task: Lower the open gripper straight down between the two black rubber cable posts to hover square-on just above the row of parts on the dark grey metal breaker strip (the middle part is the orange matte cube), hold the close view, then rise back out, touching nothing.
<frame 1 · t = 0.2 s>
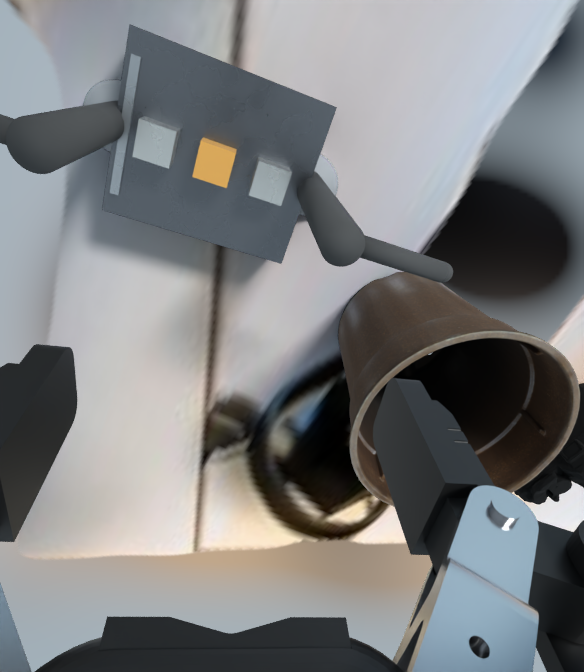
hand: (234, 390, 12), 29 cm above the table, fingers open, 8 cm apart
cable post 1: (121, 118, 34), on the table
orange matte cube: (214, 162, 31), point 5 cm above the table, hinge at 0.0°
plant pot: (396, 323, 45), on the table
film camera: (553, 430, 55), on the table
cable post 2: (306, 183, 37), on the table
breaker strip: (218, 152, 36), on the table
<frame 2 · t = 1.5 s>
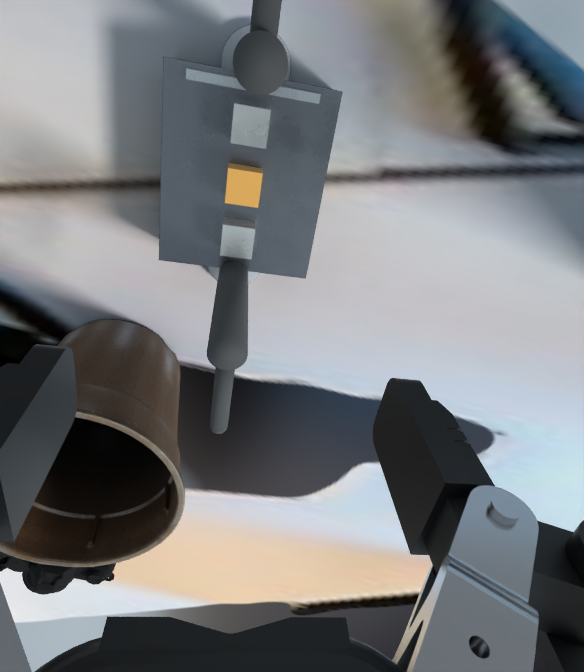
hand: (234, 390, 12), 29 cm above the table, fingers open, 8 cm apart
cable post 1: (256, 66, 33), on the table
orange matte cube: (243, 185, 32), point 5 cm above the table, hinge at 0.0°
plant pot: (122, 368, 46), on the table
film camera: (64, 523, 57), on the table
cable post 2: (234, 257, 40), on the table
breaker strip: (244, 171, 37), on the table
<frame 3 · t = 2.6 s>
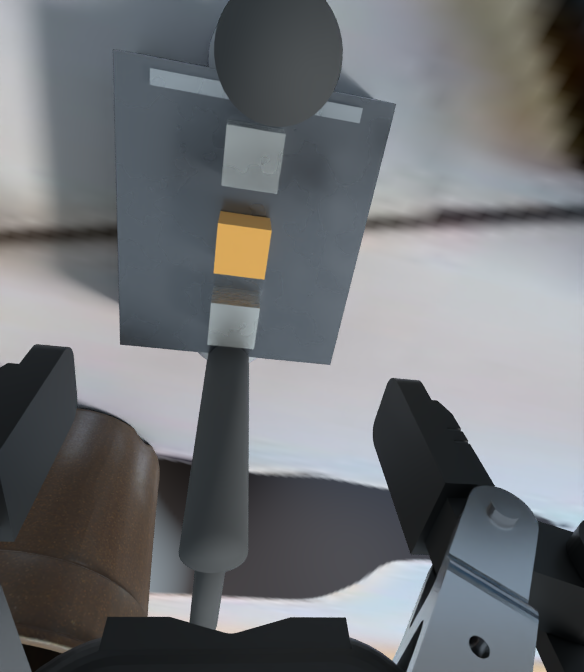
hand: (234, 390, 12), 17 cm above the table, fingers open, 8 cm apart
cable post 1: (260, 65, 22), on the table
orange matte cube: (242, 245, 21), point 5 cm above the table, hinge at 0.0°
plant pot: (83, 463, 35), on the table
cable post 2: (230, 328, 29), on the table
breaker strip: (243, 215, 26), on the table
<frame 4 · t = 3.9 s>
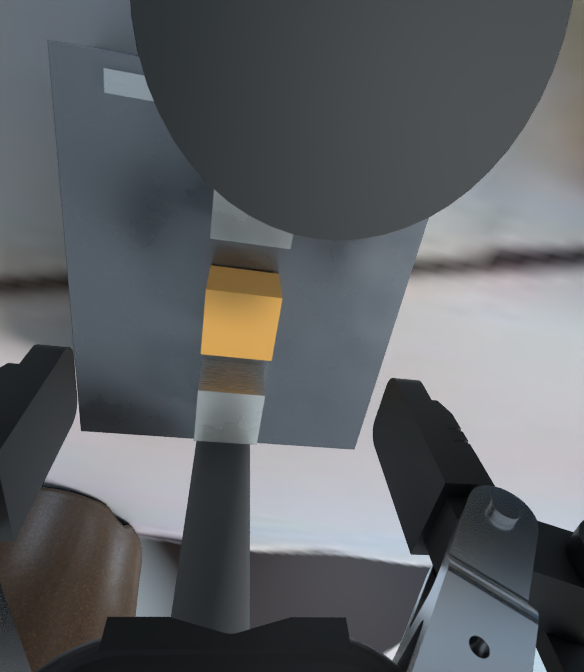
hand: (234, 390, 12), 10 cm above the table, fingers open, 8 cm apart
cable post 1: (266, 64, 16), on the table
orange matte cube: (241, 312, 15), point 5 cm above the table, hinge at 0.0°
plant pot: (50, 544, 29), on the table
cable post 2: (226, 393, 24), on the table
breaker strip: (243, 259, 20), on the table
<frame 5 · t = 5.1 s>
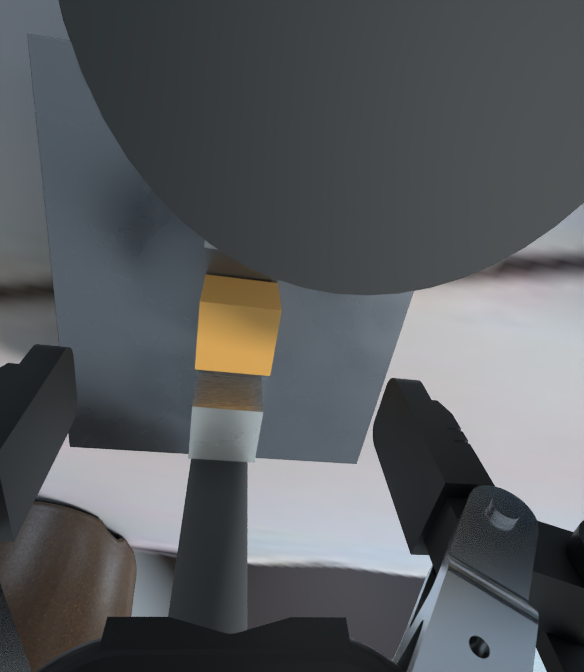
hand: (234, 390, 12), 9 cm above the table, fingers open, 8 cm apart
cable post 1: (264, 61, 15), on the table
orange matte cube: (237, 324, 15), point 5 cm above the table, hinge at 0.0°
plant pot: (41, 558, 28), on the table
cable post 2: (223, 404, 23), on the table
breaker strip: (240, 266, 19), on the table
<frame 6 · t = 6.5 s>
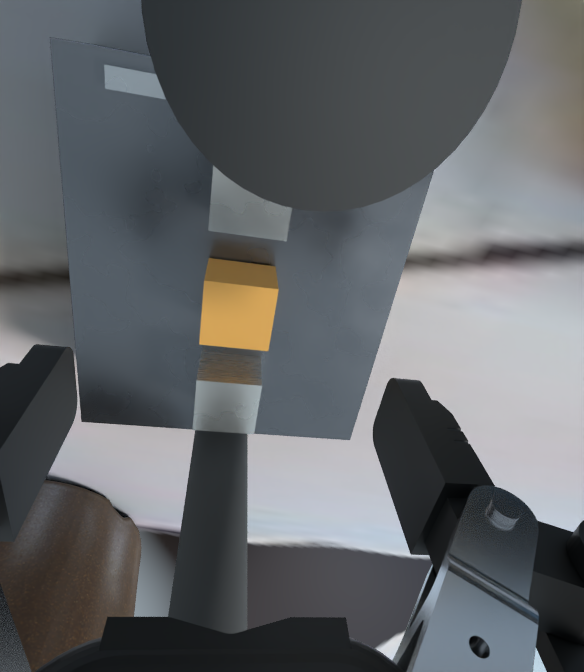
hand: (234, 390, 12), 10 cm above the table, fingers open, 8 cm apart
cable post 1: (263, 61, 17), on the table
orange matte cube: (238, 304, 16), point 5 cm above the table, hinge at 0.0°
plant pot: (50, 537, 29), on the table
cable post 2: (224, 386, 24), on the table
breaker strip: (240, 253, 20), on the table
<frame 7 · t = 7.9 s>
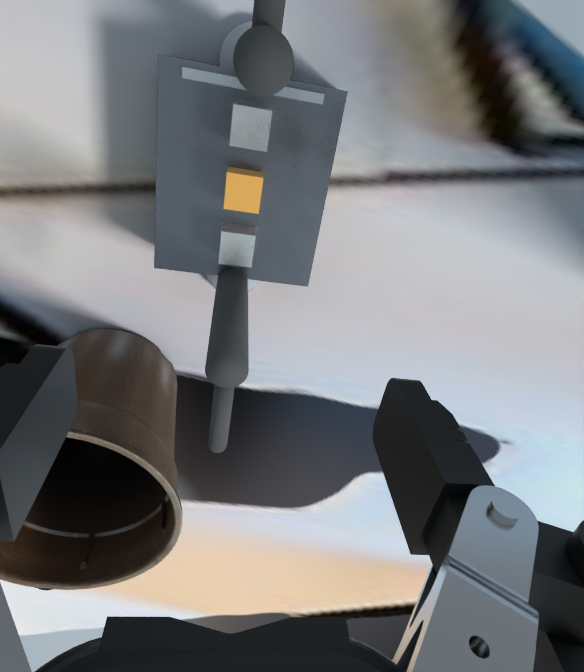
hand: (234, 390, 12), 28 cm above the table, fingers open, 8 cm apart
cable post 1: (255, 64, 31), on the table
orange matte cube: (243, 190, 31), point 5 cm above the table, hinge at 0.0°
plant pot: (117, 378, 44), on the table
cable post 2: (233, 264, 39), on the table
breaker strip: (243, 175, 35), on the table
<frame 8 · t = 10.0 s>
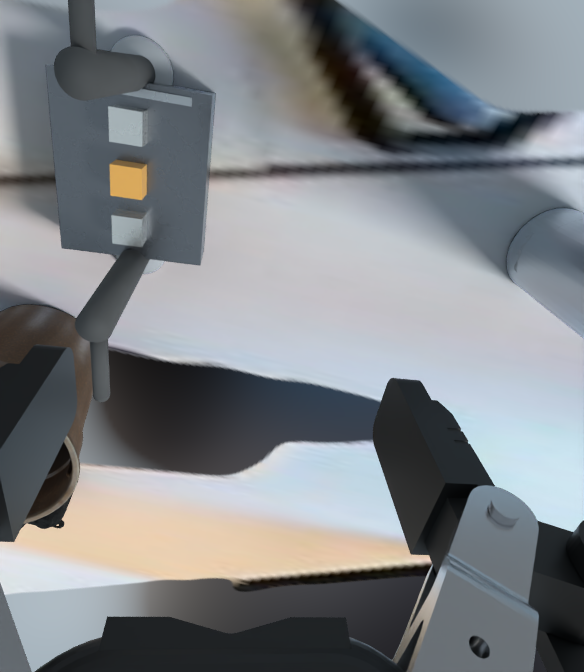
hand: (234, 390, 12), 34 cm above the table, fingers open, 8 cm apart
cable post 1: (142, 72, 37), on the table
orange matte cube: (128, 179, 36), point 5 cm above the table, hinge at 0.0°
plant pot: (47, 351, 49), on the table
film camera: (18, 473, 58), on the table
cable post 2: (141, 247, 44), on the table
breaker strip: (141, 167, 40), on the table
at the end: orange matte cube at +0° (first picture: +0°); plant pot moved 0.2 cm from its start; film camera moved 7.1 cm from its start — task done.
